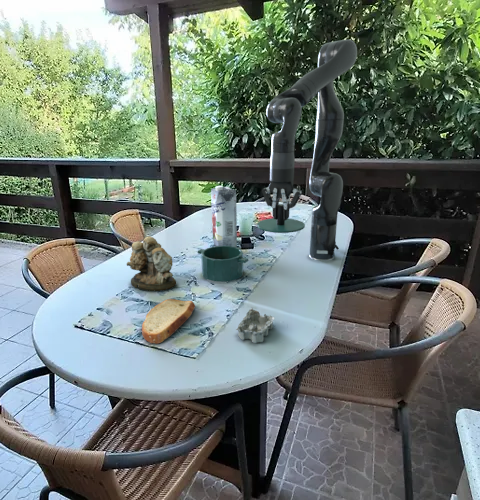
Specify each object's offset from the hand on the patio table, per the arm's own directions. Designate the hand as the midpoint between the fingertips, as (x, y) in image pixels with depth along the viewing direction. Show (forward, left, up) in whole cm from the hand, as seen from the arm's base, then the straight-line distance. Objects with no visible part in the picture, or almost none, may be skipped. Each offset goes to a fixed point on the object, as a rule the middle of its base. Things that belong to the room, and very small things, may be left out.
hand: (280, 219), depth 121 cm
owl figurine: (+27, -35, -21) cm, 49 cm away
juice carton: (-17, -33, -21) cm, 43 cm away
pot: (+8, -18, -21) cm, 29 cm away
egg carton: (+35, +10, -21) cm, 42 cm away
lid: (0, 0, -2) cm, 2 cm away
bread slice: (+43, -13, -21) cm, 50 cm away
